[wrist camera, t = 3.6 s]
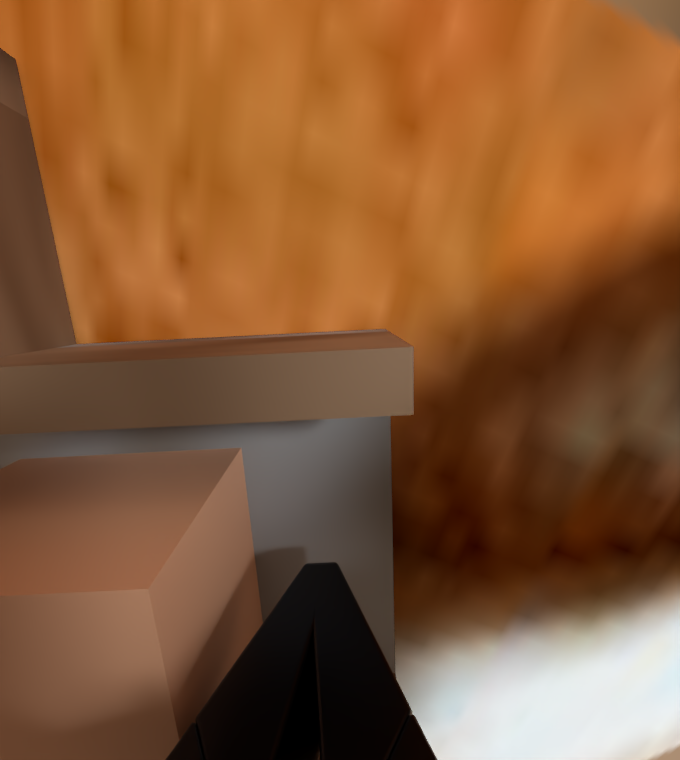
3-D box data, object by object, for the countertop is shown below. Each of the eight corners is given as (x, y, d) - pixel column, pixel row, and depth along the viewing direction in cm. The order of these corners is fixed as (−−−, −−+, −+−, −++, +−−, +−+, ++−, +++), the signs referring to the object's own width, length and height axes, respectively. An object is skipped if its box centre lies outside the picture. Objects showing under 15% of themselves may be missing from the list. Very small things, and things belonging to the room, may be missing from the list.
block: (241, 447, 8) (148, 589, 4) (263, 630, 9) (207, 878, 5) (20, 458, 8) (-281, 609, 4) (69, 639, 9) (-133, 892, 5)
